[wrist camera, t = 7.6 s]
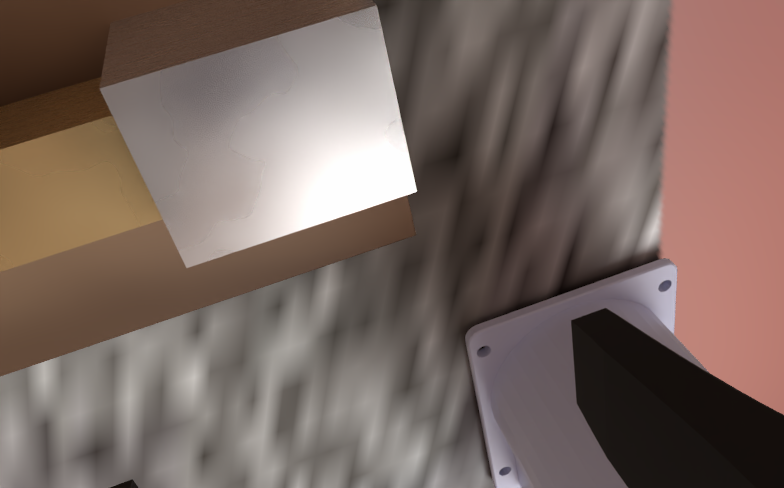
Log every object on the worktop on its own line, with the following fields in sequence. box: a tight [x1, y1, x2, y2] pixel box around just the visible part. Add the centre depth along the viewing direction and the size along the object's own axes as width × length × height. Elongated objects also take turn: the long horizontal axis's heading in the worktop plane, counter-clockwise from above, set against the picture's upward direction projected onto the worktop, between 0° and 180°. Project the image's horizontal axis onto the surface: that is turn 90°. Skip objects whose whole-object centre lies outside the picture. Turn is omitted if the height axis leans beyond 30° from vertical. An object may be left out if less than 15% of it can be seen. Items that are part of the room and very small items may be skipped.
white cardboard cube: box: [99, 0, 417, 268], centre depth 15 cm, size 4×5×4 cm
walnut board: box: [0, 0, 416, 376], centre depth 17 cm, size 12×15×1 cm
